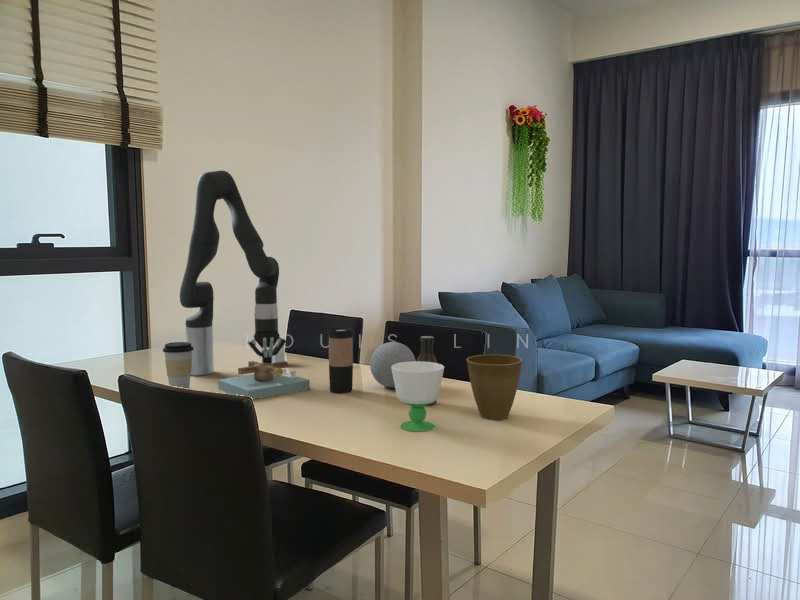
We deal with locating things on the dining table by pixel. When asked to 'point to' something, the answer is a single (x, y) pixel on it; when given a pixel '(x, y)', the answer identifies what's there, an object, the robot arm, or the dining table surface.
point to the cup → (417, 390)
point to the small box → (276, 358)
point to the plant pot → (494, 383)
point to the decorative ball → (388, 361)
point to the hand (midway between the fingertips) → (267, 367)
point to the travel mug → (340, 360)
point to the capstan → (263, 370)
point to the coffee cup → (178, 363)
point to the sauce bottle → (427, 352)
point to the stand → (264, 385)
